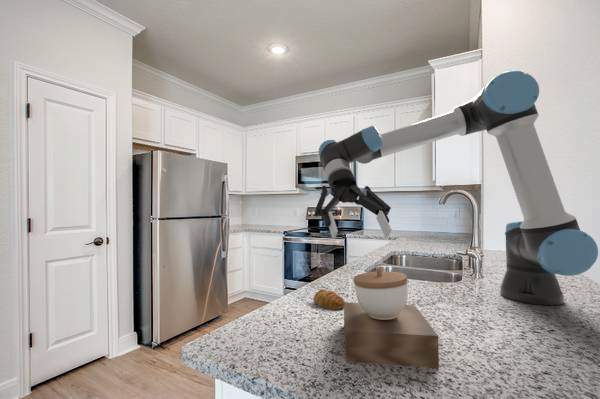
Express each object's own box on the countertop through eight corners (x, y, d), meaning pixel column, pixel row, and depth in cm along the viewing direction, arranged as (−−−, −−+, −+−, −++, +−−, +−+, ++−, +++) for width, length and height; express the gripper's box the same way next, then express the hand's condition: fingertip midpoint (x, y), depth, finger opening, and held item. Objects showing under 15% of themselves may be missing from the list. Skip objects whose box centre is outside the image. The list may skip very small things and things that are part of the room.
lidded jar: (410, 326, 53) (405, 274, 54) (352, 323, 57) (347, 274, 58) (411, 306, 63) (406, 263, 64) (362, 305, 67) (357, 264, 68)
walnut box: (415, 331, 67) (414, 305, 67) (438, 370, 51) (438, 335, 51) (344, 328, 69) (344, 302, 69) (345, 364, 53) (345, 330, 53)
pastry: (350, 307, 82) (350, 293, 82) (334, 313, 78) (334, 299, 78) (326, 299, 89) (326, 286, 89) (310, 304, 85) (310, 291, 85)
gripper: (375, 187, 90) (403, 242, 75) (296, 187, 85) (309, 246, 70) (384, 168, 85) (415, 222, 70) (300, 166, 80) (314, 225, 65)
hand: (362, 234), depth 70 cm, fingers open, 13 cm apart
